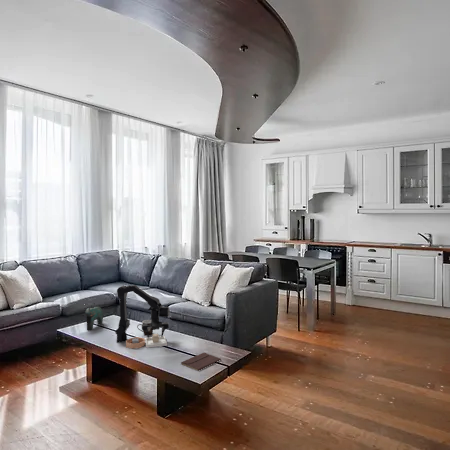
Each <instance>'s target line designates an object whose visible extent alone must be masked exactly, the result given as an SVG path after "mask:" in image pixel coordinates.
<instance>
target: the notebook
mask: <svg viewBox="0 0 450 450" xmlns="http://www.w3.org/2000/svg"><path fill="white" fill-rule="evenodd" d="M219 360H222V359H221V358H219V357H217V356H214V355H212V354H209V353H207V352H202V353H199V354H197V355H195V356H192V357H190V358H187V359H185V360H183V361H181V362H180V365H182V366H184V367H187V368H190V369H193V370H194V371H197V372H199V370H200V371H202V370H204V369H206V368H208V367H210V366H212V365H214V364H216V363H218V362H217V361H219ZM215 362H216V363H215ZM219 362H220V361H219ZM213 363H214V364H213ZM211 364H212V365H211ZM209 365H210V366H209ZM207 366H208V367H207ZM205 367H206V368H205ZM203 368H204V369H203ZM201 369H202V370H201Z"/></svg>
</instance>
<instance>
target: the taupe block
mask: <svg viewBox="0 0 450 450" xmlns="http://www.w3.org/2000/svg"><path fill="white" fill-rule="evenodd" d="M151 337H152V341H153V342H159V334H158V333H153V334H152V336H151Z"/></svg>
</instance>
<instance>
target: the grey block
mask: <svg viewBox="0 0 450 450" xmlns="http://www.w3.org/2000/svg"><path fill="white" fill-rule="evenodd" d="M135 338H136V337H135ZM134 343H139V340H138V338H136V339H132V344H134Z"/></svg>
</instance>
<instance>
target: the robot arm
mask: <svg viewBox="0 0 450 450" xmlns="http://www.w3.org/2000/svg"><path fill="white" fill-rule="evenodd" d="M131 292H132V293H134V294H136V295H137V296H139V297H140V298H142V300H144V301H146V304H148V305H149V308H148V309H147V311H150V320H151V325H147V324H142V325H141V330H142V331H143V330H144V331H146V333H147V335H146V336H147V338H148V339H149V337H150V335H149V333H148V328H152V329H153V331H156V330H160V328H161V335H160V336H161V337H162V336H164V333H165V331H166V330H167V329H168V328H169V322H168V321H160V318H161V317H165V318H166V317H167V318H168V317H170V314H171V310H170V307H169V306H163V304H162V303H161V300H160V299H159V298H157V297H156V296H153V295H150V294H148V293H147V292H146V291H144V290H143V289H142V288H140V287H139V286H138V285H136V284H132V285H125V284H123V285H121V286H120V287H118V288H117V289H116V293H117V297H118V299H119V322H118V326H117V327H118V328H117V329H116V330H115V331H114V332H115V335H116V343H126V340H128V333H127V332H126V331H128V329H129V328H130V326H131V323H130V321H131V319H128V313H127V298H128V297H127V296H128V293H131Z"/></svg>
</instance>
